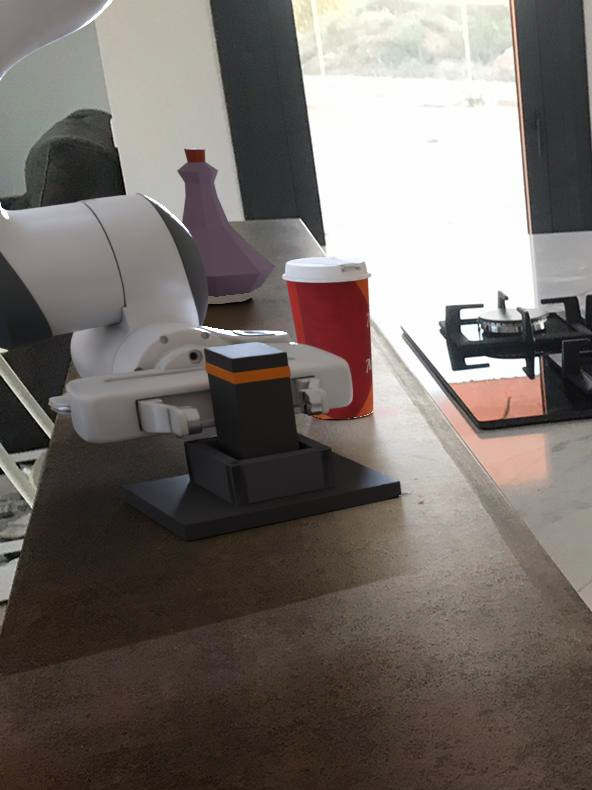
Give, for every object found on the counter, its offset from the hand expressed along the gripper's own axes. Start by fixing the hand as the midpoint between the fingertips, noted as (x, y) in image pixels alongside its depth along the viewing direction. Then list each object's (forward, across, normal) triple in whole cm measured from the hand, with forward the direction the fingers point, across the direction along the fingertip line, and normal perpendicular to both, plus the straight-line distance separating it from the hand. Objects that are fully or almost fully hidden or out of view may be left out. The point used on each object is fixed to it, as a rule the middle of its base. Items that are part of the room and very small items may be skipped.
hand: (257, 413), depth 93 cm
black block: (-1, 0, +6) cm, 6 cm away
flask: (-94, +34, +7) cm, 100 cm away
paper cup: (-22, +17, +7) cm, 29 cm away
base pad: (-1, 0, +7) cm, 7 cm away
